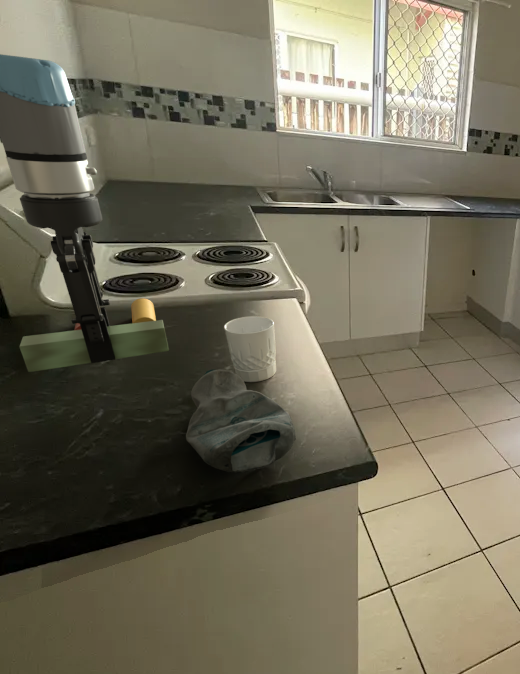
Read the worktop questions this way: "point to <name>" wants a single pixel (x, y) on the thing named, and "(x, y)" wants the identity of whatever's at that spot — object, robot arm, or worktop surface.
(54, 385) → the worktop surface
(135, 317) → the yellow rod
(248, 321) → the white cup
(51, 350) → the green bar
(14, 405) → the worktop surface
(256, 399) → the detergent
